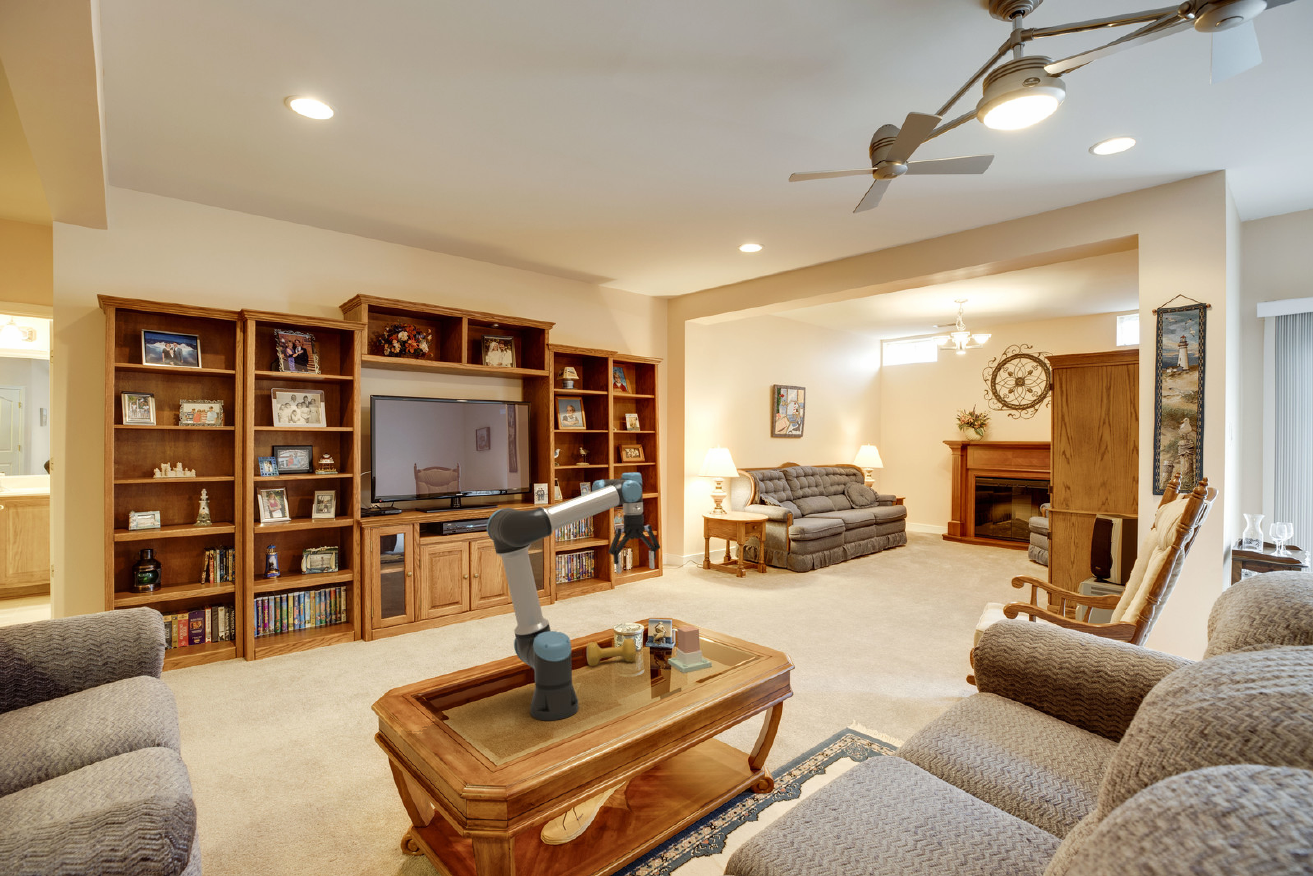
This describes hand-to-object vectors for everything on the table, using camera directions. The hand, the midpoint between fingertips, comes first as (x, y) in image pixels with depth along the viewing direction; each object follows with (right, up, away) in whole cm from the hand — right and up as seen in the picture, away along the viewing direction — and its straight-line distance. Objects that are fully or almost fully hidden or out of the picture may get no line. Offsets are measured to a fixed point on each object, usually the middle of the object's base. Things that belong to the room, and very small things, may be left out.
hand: (635, 570), depth 226 cm
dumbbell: (-10, -38, +8) cm, 40 cm away
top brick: (+20, -30, +2) cm, 36 cm away
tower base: (+20, -36, +2) cm, 41 cm away
